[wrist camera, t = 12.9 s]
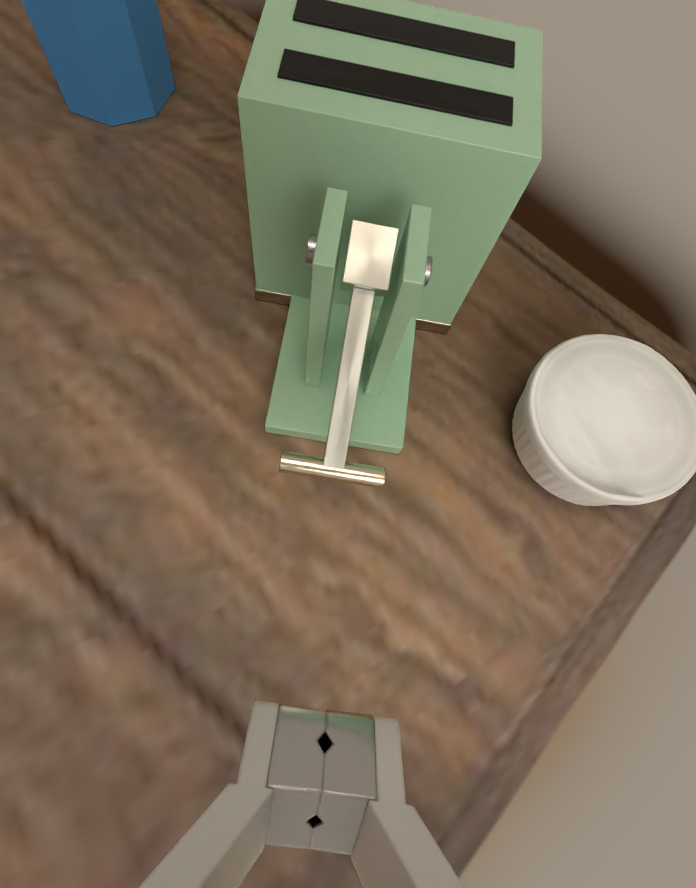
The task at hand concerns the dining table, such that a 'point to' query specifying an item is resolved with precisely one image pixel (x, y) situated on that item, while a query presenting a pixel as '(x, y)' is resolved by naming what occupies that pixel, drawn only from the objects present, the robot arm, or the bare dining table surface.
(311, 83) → the toaster
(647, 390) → the ramekin
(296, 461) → the lever
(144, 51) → the water bottle
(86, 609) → the dining table surface
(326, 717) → the robot arm
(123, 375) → the dining table surface
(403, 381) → the switch bracket
